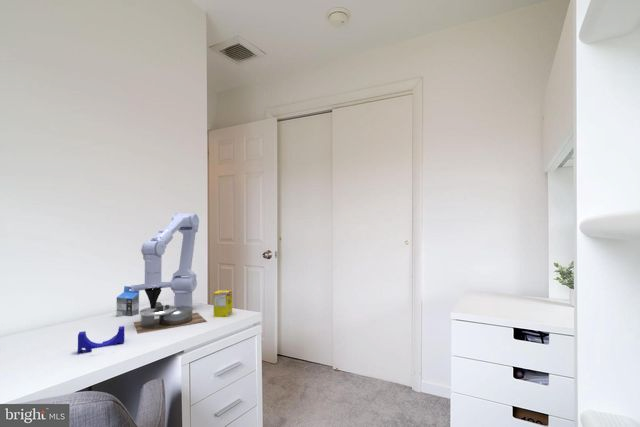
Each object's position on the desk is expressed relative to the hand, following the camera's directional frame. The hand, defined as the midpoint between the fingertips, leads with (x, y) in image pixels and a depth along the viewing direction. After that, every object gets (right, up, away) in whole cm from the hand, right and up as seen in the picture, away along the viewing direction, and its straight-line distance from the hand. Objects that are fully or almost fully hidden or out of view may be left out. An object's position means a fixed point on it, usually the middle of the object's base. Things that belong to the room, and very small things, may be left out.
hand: (152, 308), depth 125 cm
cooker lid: (+2, -2, +1) cm, 3 cm away
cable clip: (-6, -7, -20) cm, 22 cm away
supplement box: (+23, -8, +13) cm, 27 cm away
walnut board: (+5, -7, +3) cm, 10 cm away
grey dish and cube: (+4, -6, +3) cm, 8 cm away
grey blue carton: (-18, -8, +15) cm, 25 cm away
